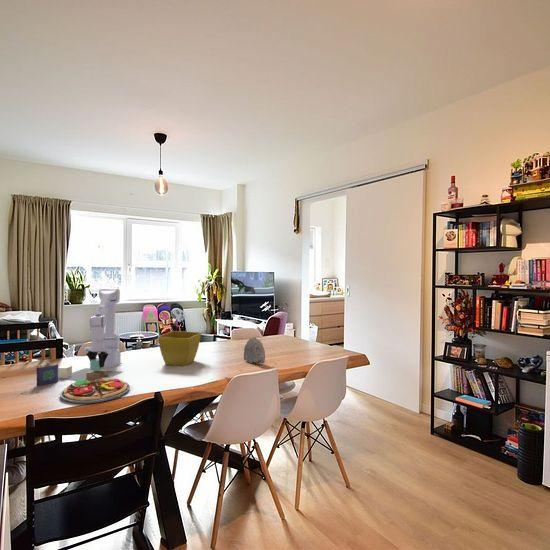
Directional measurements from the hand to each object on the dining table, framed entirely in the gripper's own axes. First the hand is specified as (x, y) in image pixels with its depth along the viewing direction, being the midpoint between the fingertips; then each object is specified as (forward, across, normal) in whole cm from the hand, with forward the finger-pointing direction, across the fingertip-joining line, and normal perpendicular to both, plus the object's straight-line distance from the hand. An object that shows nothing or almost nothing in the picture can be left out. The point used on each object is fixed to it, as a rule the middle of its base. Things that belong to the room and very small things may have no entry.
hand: (97, 366), depth 182 cm
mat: (+6, -6, +2) cm, 9 cm away
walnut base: (+5, 0, 0) cm, 5 cm away
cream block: (+5, -16, -4) cm, 17 cm away
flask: (+6, -15, -15) cm, 22 cm away
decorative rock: (+6, +66, +52) cm, 84 cm away
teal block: (+1, 0, 0) cm, 1 cm away
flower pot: (+6, +24, +39) cm, 46 cm away
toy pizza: (+6, +15, -18) cm, 24 cm away
